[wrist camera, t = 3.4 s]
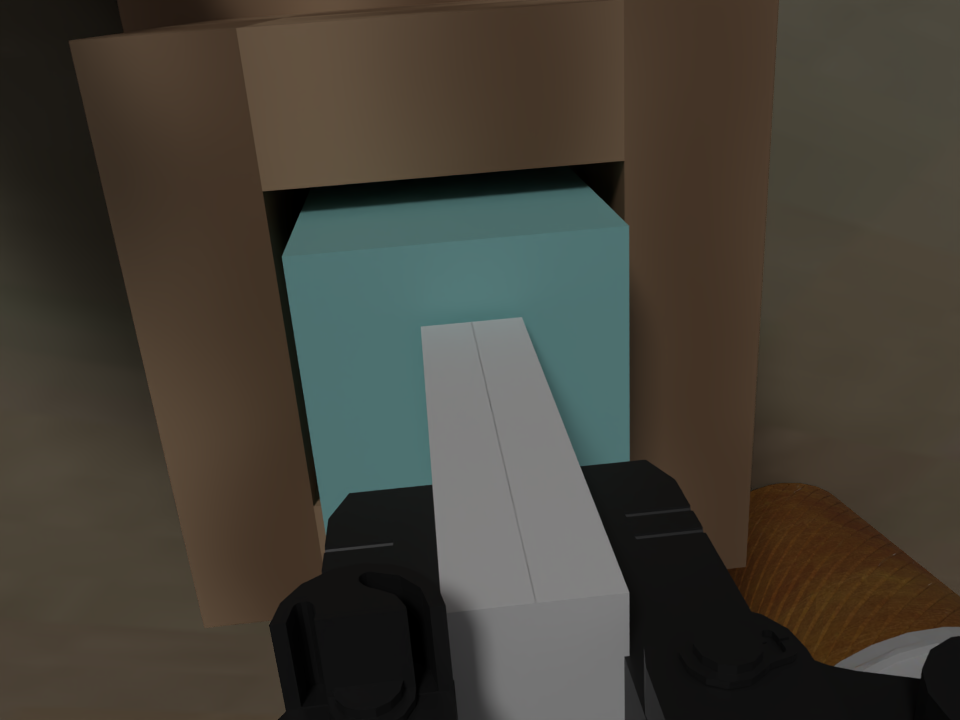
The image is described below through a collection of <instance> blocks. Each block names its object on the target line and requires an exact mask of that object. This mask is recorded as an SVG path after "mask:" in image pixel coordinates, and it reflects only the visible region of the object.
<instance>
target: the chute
mask: <svg viewBox="0 0 960 720" xmlns="http://www.w3.org/2000/svg"><path fill="white" fill-rule="evenodd" d="M117 3H118V8H119V13H120V18H121V23H122V27H123V32H124V33H119V34H112V35H105V36H98V37H91V38H84V39H77V40H70V41H69V45H70V49H71V54H72V58H73V62H74V67H75V71H76V75H77V80H78V84H79V88H80V93H81V97H82V101H83V106H84V110H85V114H86V119H87V123H88V127H89V132H90V136H91V140H92V144H93V149H94V153H95V157H96V162H97V166H98V170H99V175H100V179H101V183H102V188H103V192H104V196H105V201H106V205H107V209H108V214H109V218H110V222H111V227H112V231H113V235H114V240H115V244H116V248H117V252H118V257H119V261H120V265H121V270H122V274H123V278H124V283H125V287H126V291H127V296H128V300H129V304H130V309H131V313H132V317H133V322H134V326H135V330H136V335H137V339H138V343H139V348H140V352H141V356H142V361H143V365H144V369H145V373H146V378H147V382H148V386H149V391H150V395H151V399H152V404H153V408H154V412H155V417H156V421H157V425H158V430H159V434H160V438H161V443H162V447H163V451H164V456H165V460H166V464H167V469H168V473H169V477H170V482H171V486H172V490H173V494H174V499H175V503H176V507H177V512H178V516H179V520H180V525H181V529H182V533H183V538H184V542H185V546H186V551H187V555H188V559H189V564H190V568H191V572H192V577H193V581H194V585H195V590H196V594H197V598H198V602H199V607H200V611H201V615H202V620H203V624H204V628H209V627H218V626H227V625H236V624H244V623H253V622H262V621H271V620H272V618H273V616H274V614H275V612H276V610H277V608H278V606H279V604H280V603H281V602H282V601H283V600H284V599H285V598H286V597H287V596H288V595H290V594H291V593H292V592H293V591H294V590H295V589H296V588H297V587H299V586H300V585H301V584H302V583H304V582H307V581H309V580H311V579H313V578H315V577H317V576H319V575H321V574H322V572H321V571H322V563H323V556H324V553H325V540H326V533H325V527H324V521H323V514H322V508H321V502H320V495H319V489H318V483H317V476H316V470H315V464H314V457H313V451H312V445H311V438H310V432H309V426H308V419H307V413H306V407H305V400H304V394H303V388H302V381H301V375H300V369H299V362H298V356H297V350H296V344H295V337H294V331H293V325H292V318H291V312H290V306H289V299H288V293H287V287H286V280H285V274H284V268H283V261H282V255H283V253H284V250H285V248H286V246H287V243H288V241H289V238H290V236H291V234H292V231H293V229H294V227H295V224H296V222H297V219H298V217H299V215H300V212H301V210H302V208H303V205H304V203H305V200H306V198H307V196H308V193H309V191H310V189H311V187H320V186H332V185H344V184H356V183H367V182H379V181H391V180H403V179H415V178H426V177H438V176H450V175H462V174H474V173H485V172H497V171H509V170H521V169H533V168H544V167H556V166H568V167H569V168H570V169H571V170H572V171H573V172H574V173H576V174H577V175H578V176H579V177H580V178H581V179H582V180H583V181H584V182H585V183H586V184H587V185H588V186H589V187H590V188H591V189H592V190H593V191H594V192H595V193H596V194H597V195H598V196H599V197H600V198H601V199H602V200H603V201H604V202H605V203H606V204H607V205H608V206H609V207H610V208H611V209H612V210H613V211H614V212H615V213H616V214H617V215H619V216H620V217H621V218H622V219H623V220H624V221H625V222H626V223H627V224H628V225H629V408H630V461H636V460H647V461H649V462H650V463H652V464H653V465H655V466H656V467H658V468H659V469H660V470H662V471H663V472H665V473H666V474H668V475H669V476H671V477H672V478H674V479H675V480H676V481H677V483H678V485H679V487H680V488H681V490H682V492H683V494H684V495H685V497H686V499H687V501H688V502H689V504H690V508H691V511H694V513H695V514H696V516H697V518H698V520H699V521H700V523H701V525H702V527H703V532H704V533H706V534H707V535H708V537H709V539H710V540H711V542H712V544H713V546H714V547H715V549H716V551H717V553H718V554H719V556H720V558H721V560H722V561H723V563H724V565H725V567H726V568H727V569H732V568H741V567H746V556H747V539H748V522H749V505H750V488H751V471H752V453H753V436H754V419H755V402H756V385H757V368H758V351H759V333H760V316H761V299H762V282H763V265H764V248H765V230H766V213H767V196H768V179H769V162H770V145H771V128H772V110H773V93H774V76H775V59H776V42H777V25H778V7H779V0H117Z"/></svg>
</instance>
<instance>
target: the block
mask: <svg viewBox="0 0 960 720" xmlns="http://www.w3.org/2000/svg"><path fill="white" fill-rule="evenodd" d="M282 261H283V268H284V274H285V280H286V287H287V293H288V299H289V306H290V312H291V318H292V325H293V331H294V337H295V344H296V350H297V356H298V362H299V369H300V375H301V381H302V388H303V394H304V400H305V407H306V413H307V419H308V426H309V432H310V438H311V445H312V451H313V457H314V464H315V470H316V476H317V483H318V489H319V495H320V502H321V508H322V514H323V521H324V527H325V533H326V532H327V525H328V519H329V518H330V516H331V515H332V514H333V513H334V511H335V510H336V509H337V508H338V506H339V505H340V504H341V503H342V501H343V500H344V499H345V498H346V496H347V495H348V494H349V493H355V492H365V491H375V490H384V489H394V488H404V487H414V486H423V485H432V472H431V459H430V445H429V432H428V418H427V405H426V392H425V378H424V365H423V351H422V338H421V327H422V326H432V325H443V324H454V323H465V322H475V321H486V320H497V319H507V318H518V317H522V319H523V321H524V324H525V326H526V329H527V332H528V334H529V337H530V339H531V342H532V344H533V347H534V350H535V352H536V355H537V357H538V360H539V362H540V365H541V367H542V370H543V373H544V375H545V378H546V380H547V383H548V385H549V388H550V391H551V393H552V396H553V398H554V401H555V403H556V406H557V408H558V411H559V414H560V416H561V419H562V421H563V424H564V426H565V429H566V432H567V434H568V437H569V439H570V442H571V444H572V447H573V449H574V452H575V455H576V457H577V460H578V462H579V465H580V466H587V465H597V464H607V463H617V462H626V461H630V408H629V225H628V224H627V223H626V222H625V221H624V220H623V219H622V218H621V217H620V216H619V215H617V214H616V213H615V212H614V211H613V210H612V209H611V208H610V207H609V206H608V205H607V204H606V203H605V202H604V201H603V200H602V199H601V198H600V197H599V196H598V195H597V194H596V193H595V192H594V191H593V190H592V189H591V188H590V187H589V186H588V185H587V184H586V183H585V182H584V181H583V180H582V179H581V178H580V177H579V176H578V175H577V174H576V173H574V172H573V171H572V170H571V169H570V168H569V167H568V166H556V167H544V168H533V169H521V170H509V171H497V172H485V173H474V174H462V175H450V176H438V177H426V178H415V179H403V180H391V181H379V182H367V183H356V184H344V185H332V186H320V187H311V189H310V191H309V193H308V196H307V198H306V200H305V203H304V205H303V208H302V210H301V212H300V215H299V217H298V219H297V222H296V224H295V227H294V229H293V231H292V234H291V236H290V238H289V241H288V243H287V246H286V248H285V250H284V253H283V255H282Z"/></svg>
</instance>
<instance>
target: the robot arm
mask: <svg viewBox="0 0 960 720" xmlns="http://www.w3.org/2000/svg"><path fill="white" fill-rule="evenodd" d="M421 338H422V351H423V365H424V378H425V392H426V405H427V418H428V432H429V445H430V459H431V472H432V485H423V486H414V487H404V488H394V489H384V490H375V491H365V492H355V493H349V494H348V495H347V496H346V498H345V499H344V500H343V501H342V503H341V504H340V505H339V506H338V508H337V509H336V510H335V511H334V513H333V514H332V515H331V516H330V518H329V519H328V525H327V532H326V540H325V553H324V556H323V563H322V571H321V572H322V574H321V575H319V576H317V577H315V578H313V579H311V580H309V581H307V582H304V583H302V584H301V585H300V586H299V587H297V588H296V589H295V590H294V591H293V592H292V593H291V594H290V595H288V596H287V597H286V598H285V599H284V600H283V601H282V602H281V603H280V604H279V606H278V608H277V610H276V612H275V614H274V616H273V618H272V621H271V623H270V625H269V627H270V632H271V637H272V642H273V647H274V652H275V657H276V662H277V667H278V672H279V678H280V683H281V688H282V693H283V698H284V703H285V708H286V712H285V713H284V714H283V715H282V716H281V717H280V718H279V719H278V720H960V636H955V637H950V638H949V639H947V640H945V641H944V642H942V643H940V644H939V645H937V646H935V647H934V648H932V649H930V651H929V654H928V656H927V658H926V661H925V663H924V665H923V668H922V672H921V678H912V677H904V676H895V675H887V674H879V673H871V672H863V671H855V670H850V669H845V668H840V667H835V666H830V665H827V664H824V663H821V662H818V661H816V660H814V659H813V657H812V656H811V654H810V653H809V651H808V649H807V648H806V647H805V646H804V645H803V644H802V643H801V642H800V641H799V640H798V639H797V637H796V636H795V635H794V634H793V633H792V632H791V631H790V630H789V629H788V628H786V627H784V626H782V625H781V624H779V623H777V622H775V621H773V620H771V619H770V618H768V617H766V616H764V615H762V614H759V613H755V612H752V611H751V610H750V608H749V606H748V605H747V603H746V601H745V600H744V598H743V596H742V594H741V593H740V591H739V589H738V587H737V586H736V584H735V582H734V580H733V579H732V577H731V575H730V573H729V572H728V570H727V568H726V567H725V565H724V563H723V561H722V560H721V558H720V556H719V554H718V553H717V551H716V549H715V547H714V546H713V544H712V542H711V540H710V539H709V537H708V535H707V534H706V533H704V532H703V527H702V525H701V523H700V521H699V520H698V518H697V516H696V514H695V513H694V511H691V508H690V504H689V502H688V501H687V499H686V497H685V495H684V494H683V492H682V490H681V488H680V487H679V485H678V483H677V481H676V480H675V479H674V478H672V477H671V476H669V475H668V474H666V473H665V472H663V471H662V470H660V469H659V468H658V467H656V466H655V465H653V464H652V463H650V462H649V461H647V460H636V461H626V462H617V463H607V464H597V465H587V466H580V465H579V462H578V460H577V457H576V455H575V452H574V449H573V447H572V444H571V442H570V439H569V437H568V434H567V432H566V429H565V426H564V424H563V421H562V419H561V416H560V414H559V411H558V408H557V406H556V403H555V401H554V398H553V396H552V393H551V391H550V388H549V385H548V383H547V380H546V378H545V375H544V373H543V370H542V367H541V365H540V362H539V360H538V357H537V355H536V352H535V350H534V347H533V344H532V342H531V339H530V337H529V334H528V332H527V329H526V326H525V324H524V321H523V319H522V317H518V318H507V319H497V320H486V321H475V322H465V323H454V324H443V325H432V326H422V327H421Z"/></svg>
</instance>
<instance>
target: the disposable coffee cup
mask: <svg viewBox="0 0 960 720" xmlns="http://www.w3.org/2000/svg"><path fill="white" fill-rule="evenodd" d="M727 570H728V572H729V573H730V575H731V577H732V579H733V580H734V582H735V584H736V586H737V587H738V589H739V591H740V593H741V594H742V596H743V598H744V600H745V601H746V603H747V605H748V606H749V608H750V610H751V611H752V612H755V613H759V614H762V615H764V616H766V617H768V618H770V619H771V620H773V621H775V622H777V623H779V624H781V625H782V626H784V627H786V628H788V629H789V630H790V631H791V632H792V633H793V634H794V635H795V636H796V637H797V639H798V640H799V641H800V642H801V643H802V644H803V645H804V646H805V647H806V648H807V649H808V651H809V653H810V654H811V656H812V657H813V659H814V660H816V661H818V662H821V663H824V664H827V665H830V666H835V667H840V668H845V669H850V670H855V671H863V672H871V673H879V674H887V675H895V676H904V677H912V678H921V672H922V668H923V665H924V663H925V661H926V658H927V656H928V654H929V651H930V649H932V648H934V647H935V646H937V645H939V644H940V643H942V642H944V641H945V640H947V639H949V638H950V637H955V636H960V597H959V596H958V595H957V594H956V593H954V592H953V591H952V590H951V589H949V588H948V587H947V586H946V585H944V584H943V583H942V582H940V581H939V580H938V579H937V578H936V577H934V576H933V575H932V574H931V573H929V572H928V571H927V570H926V569H924V568H923V567H922V566H921V565H919V564H918V563H917V562H915V561H914V560H913V559H912V558H911V557H909V556H908V555H907V554H906V553H904V552H903V551H902V550H901V549H899V548H898V547H897V546H896V545H894V544H893V543H892V542H891V541H889V540H888V539H887V538H886V537H884V536H883V535H882V534H881V533H879V532H878V531H877V530H876V529H874V528H873V527H872V526H870V525H869V524H868V523H867V522H866V521H865V520H863V519H862V518H860V517H859V516H858V515H857V514H856V513H854V512H853V511H852V510H851V509H849V508H848V507H847V506H846V505H844V504H843V503H842V502H841V501H839V500H838V499H837V498H836V497H834V496H833V495H832V494H830V493H829V492H827V491H825V490H823V489H820V488H818V487H816V486H811V485H807V484H802V483H780V484H774V485H768V486H765V487H762V488H759V489H756V490H753V491H751V492H750V505H749V522H748V539H747V556H746V567H741V568H732V569H727Z"/></svg>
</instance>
